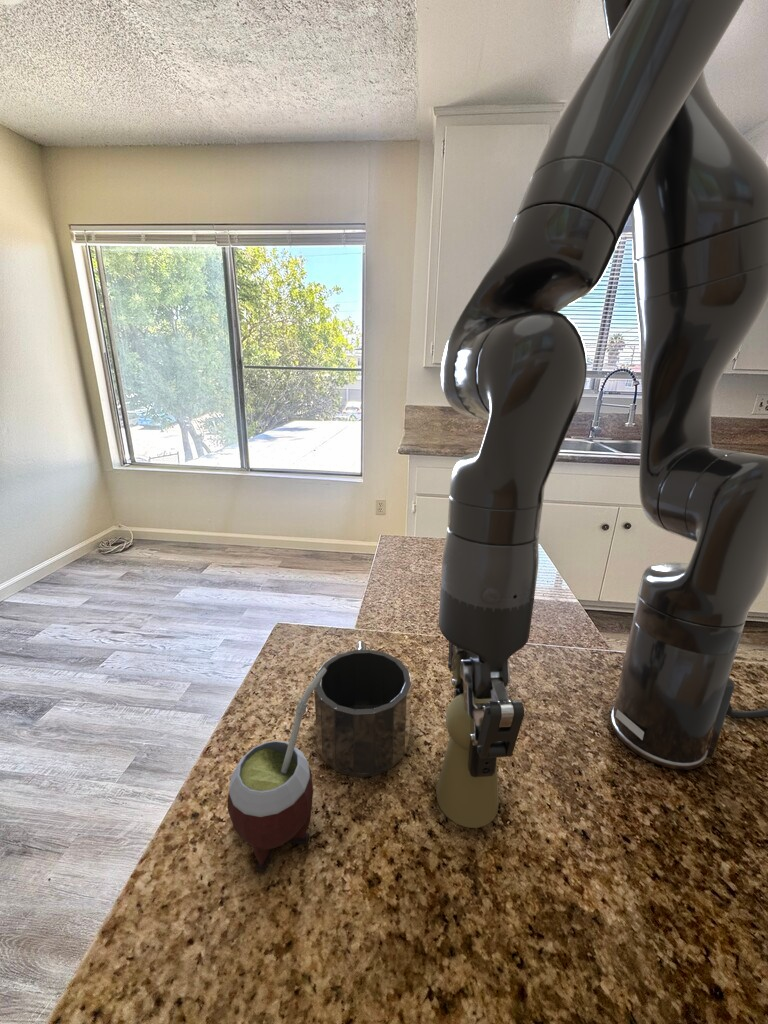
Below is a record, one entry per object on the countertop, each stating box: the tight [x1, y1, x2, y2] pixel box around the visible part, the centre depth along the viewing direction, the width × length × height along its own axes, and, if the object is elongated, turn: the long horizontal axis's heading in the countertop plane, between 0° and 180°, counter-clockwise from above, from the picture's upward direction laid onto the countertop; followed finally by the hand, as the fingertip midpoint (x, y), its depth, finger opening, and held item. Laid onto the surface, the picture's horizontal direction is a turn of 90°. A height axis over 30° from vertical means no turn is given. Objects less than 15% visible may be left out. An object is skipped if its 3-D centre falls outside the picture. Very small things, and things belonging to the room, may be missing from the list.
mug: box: [313, 640, 412, 778], centre depth 49 cm, size 14×10×8 cm
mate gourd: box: [226, 667, 327, 874], centre depth 36 cm, size 8×8×15 cm
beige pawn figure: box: [435, 693, 500, 829], centre depth 40 cm, size 6×6×11 cm
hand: (471, 744), depth 39 cm, fingers closed on beige pawn figure, 5 cm apart
